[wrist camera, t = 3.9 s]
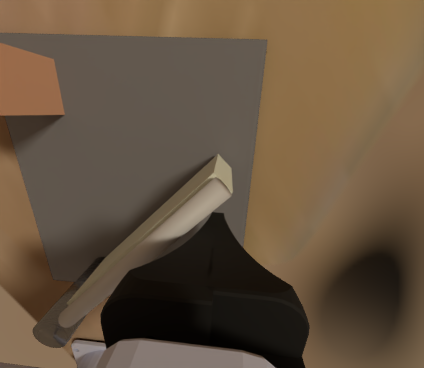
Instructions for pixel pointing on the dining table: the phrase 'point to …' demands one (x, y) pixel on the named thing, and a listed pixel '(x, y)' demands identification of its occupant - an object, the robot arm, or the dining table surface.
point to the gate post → (49, 326)
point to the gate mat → (133, 135)
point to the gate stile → (28, 83)
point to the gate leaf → (153, 236)
